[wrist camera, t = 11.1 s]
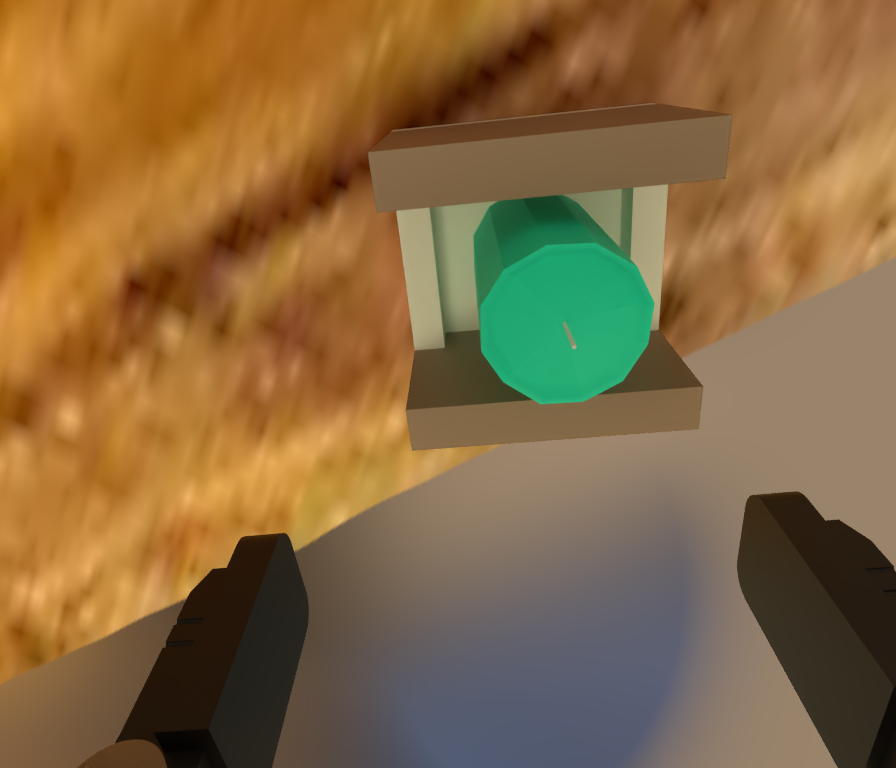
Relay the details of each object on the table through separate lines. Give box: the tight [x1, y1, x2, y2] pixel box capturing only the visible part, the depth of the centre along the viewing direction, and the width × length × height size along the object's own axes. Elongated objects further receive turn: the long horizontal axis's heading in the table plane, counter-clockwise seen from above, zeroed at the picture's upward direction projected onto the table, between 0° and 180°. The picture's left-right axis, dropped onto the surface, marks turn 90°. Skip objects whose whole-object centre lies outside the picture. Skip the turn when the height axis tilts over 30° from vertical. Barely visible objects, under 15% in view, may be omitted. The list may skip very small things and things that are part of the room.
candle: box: [473, 195, 655, 404], centre depth 24 cm, size 6×6×12 cm
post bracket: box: [368, 103, 732, 451], centre depth 27 cm, size 12×12×9 cm
